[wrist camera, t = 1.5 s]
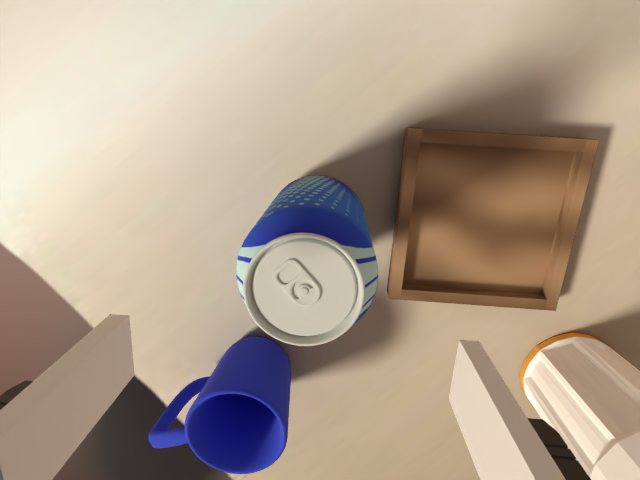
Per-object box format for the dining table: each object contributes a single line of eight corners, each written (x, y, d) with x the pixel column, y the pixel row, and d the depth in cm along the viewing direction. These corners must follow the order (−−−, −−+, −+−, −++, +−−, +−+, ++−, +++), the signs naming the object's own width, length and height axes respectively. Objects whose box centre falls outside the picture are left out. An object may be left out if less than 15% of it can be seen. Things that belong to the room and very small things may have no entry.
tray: (406, 127, 34) (409, 128, 33) (585, 138, 34) (599, 140, 32) (387, 290, 39) (389, 298, 37) (545, 301, 38) (555, 310, 37)
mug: (172, 343, 42) (123, 411, 32) (285, 317, 40) (269, 380, 31) (200, 408, 44) (162, 490, 34) (308, 386, 42) (299, 465, 33)
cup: (588, 432, 43) (749, 635, 26) (489, 400, 42) (588, 587, 25) (649, 343, 39) (876, 510, 23) (541, 306, 39) (695, 451, 22)
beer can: (364, 172, 36) (384, 215, 20) (363, 262, 38) (380, 361, 23) (269, 173, 36) (218, 217, 21) (274, 262, 38) (232, 360, 23)
